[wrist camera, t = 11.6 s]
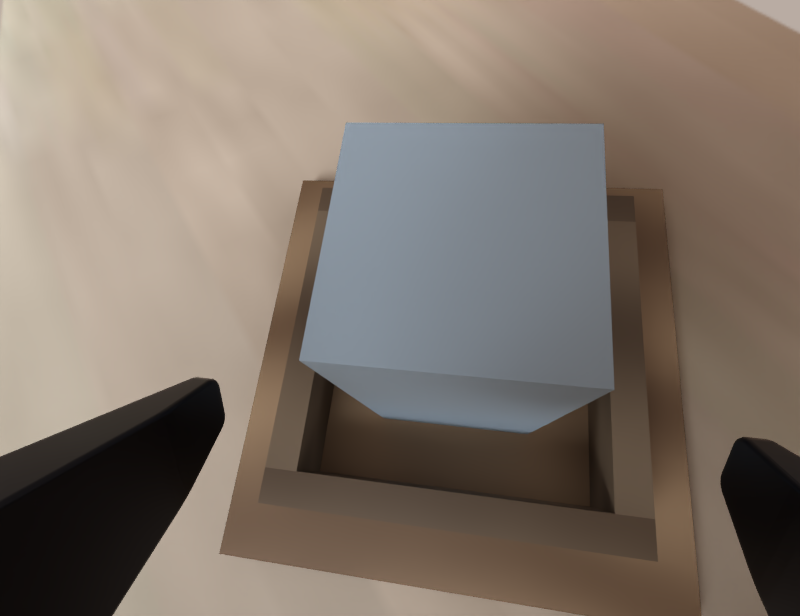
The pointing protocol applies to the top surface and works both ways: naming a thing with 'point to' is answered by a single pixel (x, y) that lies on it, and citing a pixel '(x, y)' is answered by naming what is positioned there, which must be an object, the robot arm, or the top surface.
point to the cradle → (482, 462)
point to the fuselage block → (466, 273)
